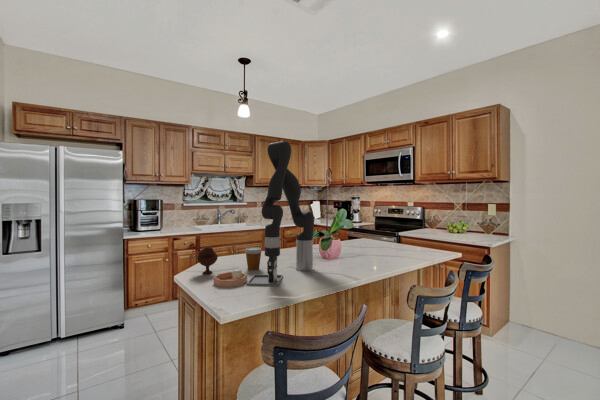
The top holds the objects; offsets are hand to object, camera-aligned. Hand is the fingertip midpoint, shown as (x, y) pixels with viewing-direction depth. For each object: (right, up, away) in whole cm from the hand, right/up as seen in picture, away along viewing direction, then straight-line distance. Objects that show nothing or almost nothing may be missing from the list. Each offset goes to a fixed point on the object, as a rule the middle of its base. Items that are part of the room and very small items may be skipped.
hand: (272, 279), depth 145 cm
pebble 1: (-17, -1, -2) cm, 17 cm away
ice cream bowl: (-37, -1, +16) cm, 40 cm away
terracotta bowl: (-20, -1, -1) cm, 20 cm away
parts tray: (-3, -1, 0) cm, 4 cm away
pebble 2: (0, -1, 0) cm, 1 cm away
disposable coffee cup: (-13, -1, +24) cm, 28 cm away
